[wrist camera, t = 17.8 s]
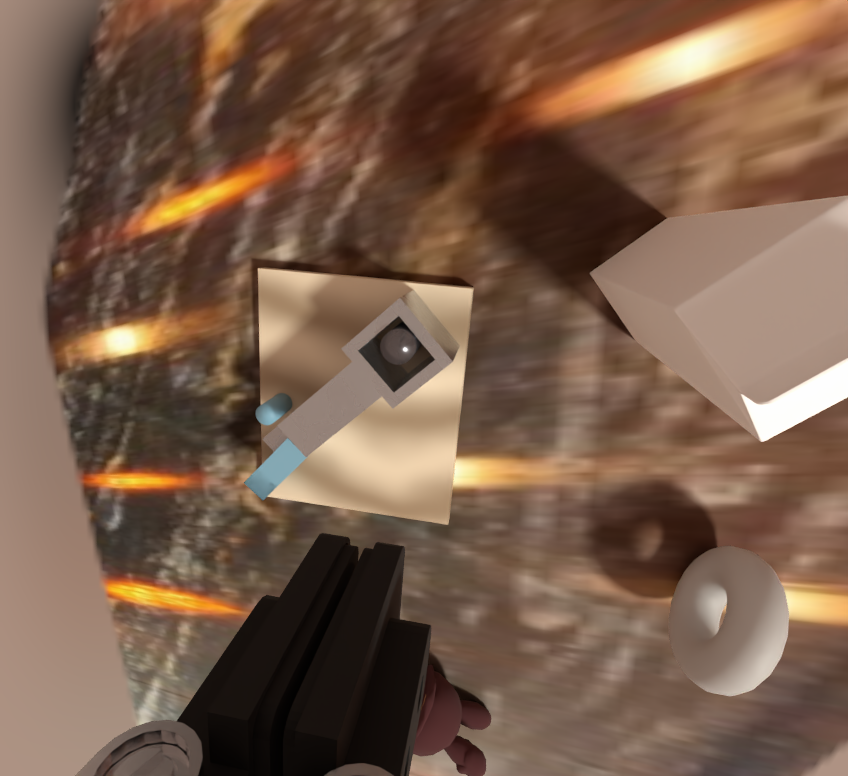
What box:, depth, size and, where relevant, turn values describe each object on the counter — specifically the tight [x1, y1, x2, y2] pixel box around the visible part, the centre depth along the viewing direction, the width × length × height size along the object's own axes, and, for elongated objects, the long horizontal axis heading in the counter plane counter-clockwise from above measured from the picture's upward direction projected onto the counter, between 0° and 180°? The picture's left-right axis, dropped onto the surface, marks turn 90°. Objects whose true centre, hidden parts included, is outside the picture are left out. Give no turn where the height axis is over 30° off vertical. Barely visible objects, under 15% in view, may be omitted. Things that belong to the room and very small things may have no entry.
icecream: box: [413, 665, 491, 776], centre depth 44 cm, size 7×7×15 cm
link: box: [263, 290, 460, 457], centre depth 36 cm, size 17×5×5 cm, turn 130°
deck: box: [258, 267, 474, 525], centre depth 40 cm, size 19×16×1 cm
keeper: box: [244, 393, 309, 500], centre depth 40 cm, size 6×5×5 cm
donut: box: [669, 546, 789, 696], centre depth 35 cm, size 10×4×10 cm, turn 159°
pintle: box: [380, 321, 422, 365], centre depth 34 cm, size 2×2×6 cm
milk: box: [590, 196, 848, 442], centre depth 24 cm, size 6×6×22 cm
